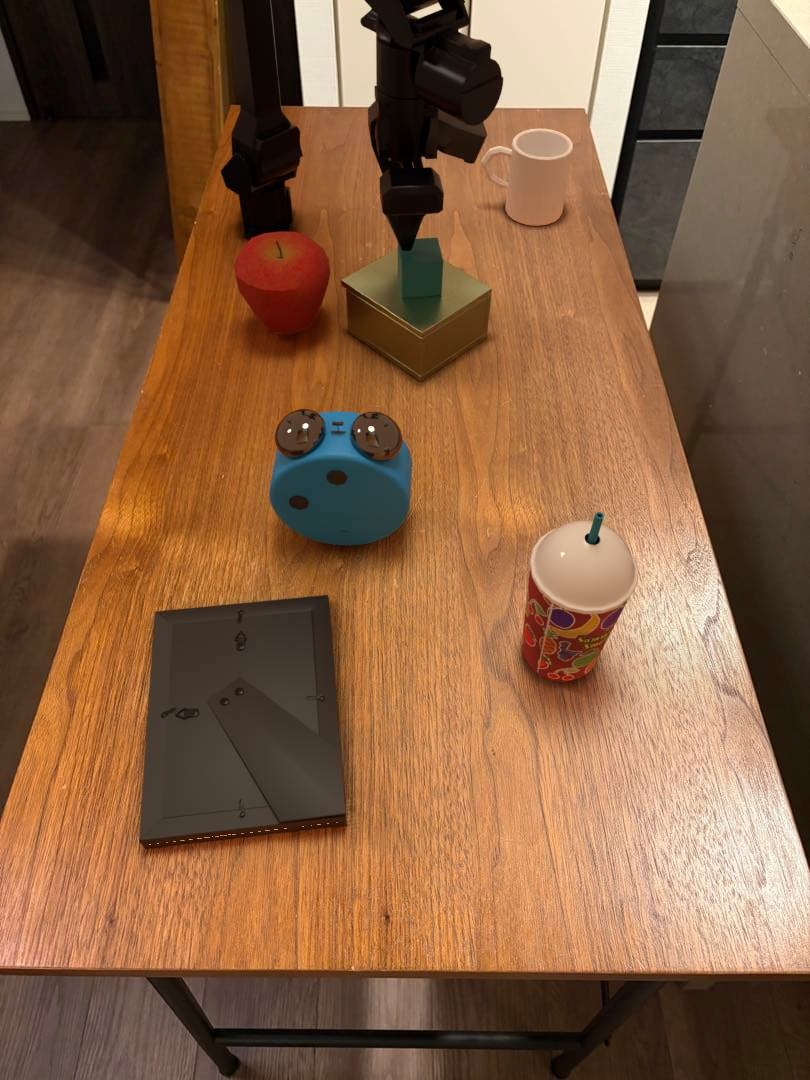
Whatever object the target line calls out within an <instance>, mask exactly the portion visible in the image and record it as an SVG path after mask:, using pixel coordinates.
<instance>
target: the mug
mask: <svg viewBox="0 0 810 1080" xmlns="http://www.w3.org/2000/svg"><path fill="white" fill-rule="evenodd" d="M573 151H574V144H573V141H572V140H571V138H570V137H569V136H567V135H566V134H564V133H562V132H560V131H557V130H554V129H550V128H540V127H539V128H530V129H527V130H523V131H521V132H519V133H518V134H516V135H515V136H514V137H513V139H512V144H511V148H509V147H506V146H503V145H498V146H494V147H491V148H489V149H488V150H487V152H486V153H485V154H484V156H483V158H482V159H481V165H482V167H483V170H484V172H485V176H486V178H487V180H488V181H489V182H491V183H492V184H494V185H495V186H497V187H499V188H502V189H506V196H505V209H504V210H505V212H506V214H507V216H508V217H509V218H510V219H512V221H515V222H517V223H519V224H522V225H526V226H533V227H534V226H536V227H541V226H547V225H550V224H552V223H555V222H556V221H557V220H559V219H560V217H561V216H562V214H563V210H564V204H565V198H566V193H567V187H568V181H569V175H570V169H571V163H572V159H573V158H572V156H573ZM502 155H504V156H507V157H509V158H510V162H509V171H508V178H507V179H508V180H504V179H502V178H500V177H499V176H498V175H496V174H495V173H494V171H493V168H492V165H491V162H492V160H493V159H494V158H495V157H498V156H502Z"/></svg>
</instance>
